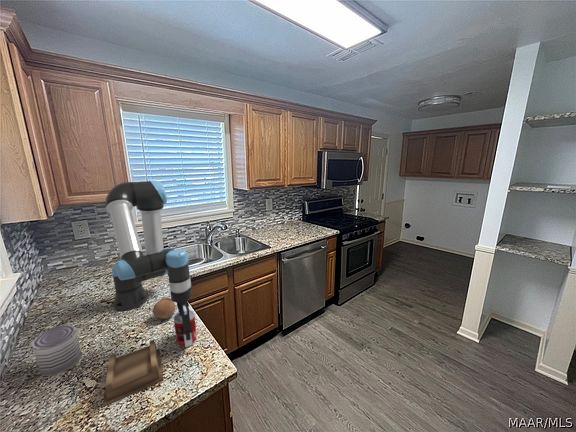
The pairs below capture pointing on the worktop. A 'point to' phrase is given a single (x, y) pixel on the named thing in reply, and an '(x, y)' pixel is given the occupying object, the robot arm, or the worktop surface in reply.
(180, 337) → the canned food
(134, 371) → the brown square tray
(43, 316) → the worktop surface
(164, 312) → the onion
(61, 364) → the can
